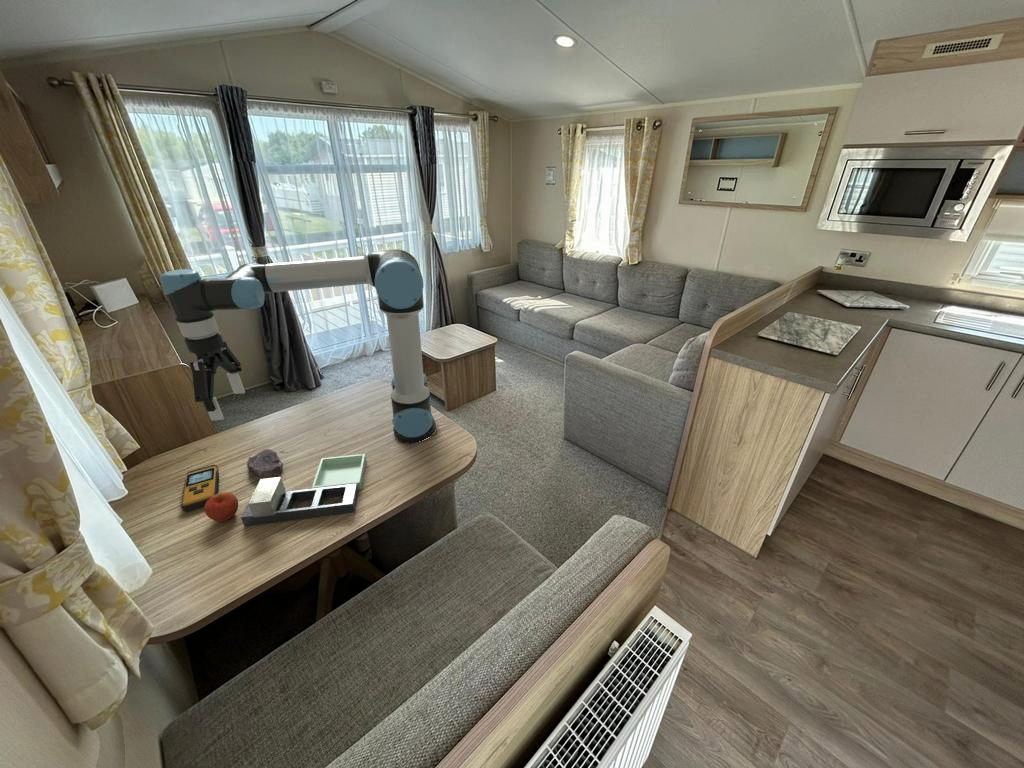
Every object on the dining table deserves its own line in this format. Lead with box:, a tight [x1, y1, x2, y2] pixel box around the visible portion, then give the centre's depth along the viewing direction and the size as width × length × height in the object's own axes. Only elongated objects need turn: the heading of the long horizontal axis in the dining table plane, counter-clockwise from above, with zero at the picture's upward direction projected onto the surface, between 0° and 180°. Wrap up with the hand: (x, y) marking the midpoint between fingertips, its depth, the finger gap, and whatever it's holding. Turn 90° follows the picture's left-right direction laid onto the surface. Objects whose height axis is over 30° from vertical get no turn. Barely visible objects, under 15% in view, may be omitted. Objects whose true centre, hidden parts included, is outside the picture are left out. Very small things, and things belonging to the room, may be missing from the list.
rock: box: [246, 448, 284, 479], centre depth 125 cm, size 8×11×5 cm
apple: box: [203, 491, 239, 522], centre depth 107 cm, size 7×7×8 cm
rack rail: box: [240, 483, 360, 528], centre depth 111 cm, size 28×8×4 cm, turn 101°
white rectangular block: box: [247, 476, 286, 517], centre depth 109 cm, size 5×9×8 cm, turn 11°
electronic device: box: [180, 464, 220, 513], centre depth 117 cm, size 8×16×3 cm, turn 31°
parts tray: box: [311, 453, 367, 491], centre depth 123 cm, size 13×13×3 cm
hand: (229, 405), depth 110 cm, fingers open, 13 cm apart
